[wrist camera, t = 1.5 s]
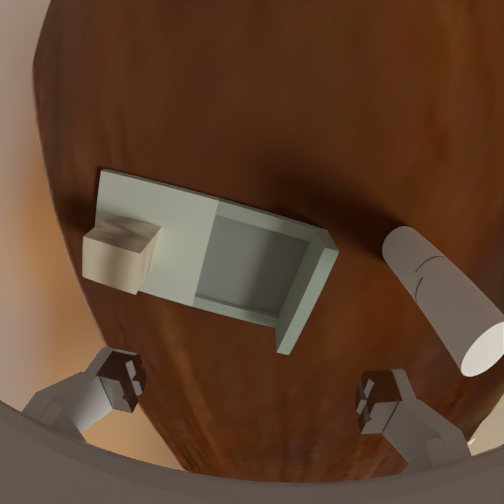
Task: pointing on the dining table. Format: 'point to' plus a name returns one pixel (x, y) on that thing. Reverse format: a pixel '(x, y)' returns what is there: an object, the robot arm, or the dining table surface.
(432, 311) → the cylindrical container
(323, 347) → the dining table surface
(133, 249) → the birch block
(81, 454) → the robot arm
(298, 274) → the board
